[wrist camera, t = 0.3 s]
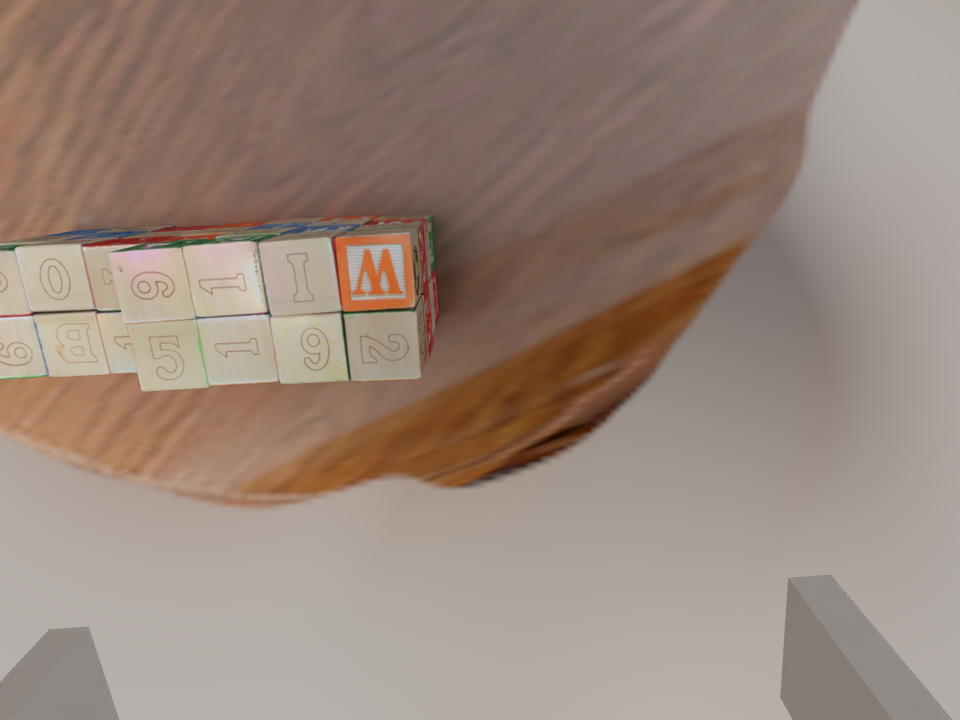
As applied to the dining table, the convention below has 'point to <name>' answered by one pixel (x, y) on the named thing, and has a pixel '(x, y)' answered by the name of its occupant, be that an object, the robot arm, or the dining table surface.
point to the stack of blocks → (223, 302)
